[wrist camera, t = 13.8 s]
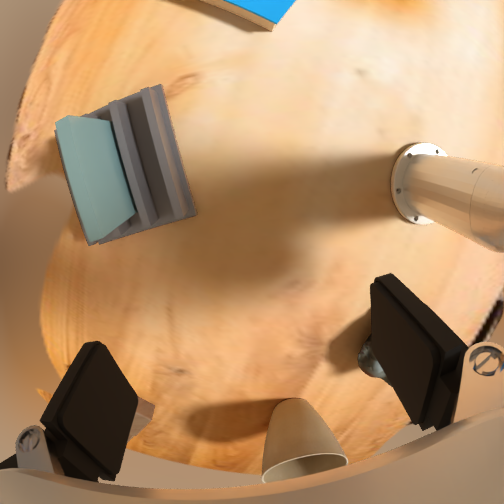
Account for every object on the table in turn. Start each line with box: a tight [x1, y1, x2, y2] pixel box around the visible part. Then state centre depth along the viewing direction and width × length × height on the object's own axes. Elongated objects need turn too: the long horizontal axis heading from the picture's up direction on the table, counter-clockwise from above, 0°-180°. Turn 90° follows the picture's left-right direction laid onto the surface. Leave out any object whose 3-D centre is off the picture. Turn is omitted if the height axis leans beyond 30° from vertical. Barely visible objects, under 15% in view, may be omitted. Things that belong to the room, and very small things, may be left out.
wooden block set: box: [127, 397, 155, 443], centre depth 48 cm, size 17×6×18 cm
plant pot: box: [261, 398, 348, 483], centre depth 45 cm, size 15×15×16 cm
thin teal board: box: [55, 115, 138, 242], centre depth 28 cm, size 2×12×13 cm, turn 14°
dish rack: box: [54, 84, 197, 246], centre depth 33 cm, size 15×18×5 cm
